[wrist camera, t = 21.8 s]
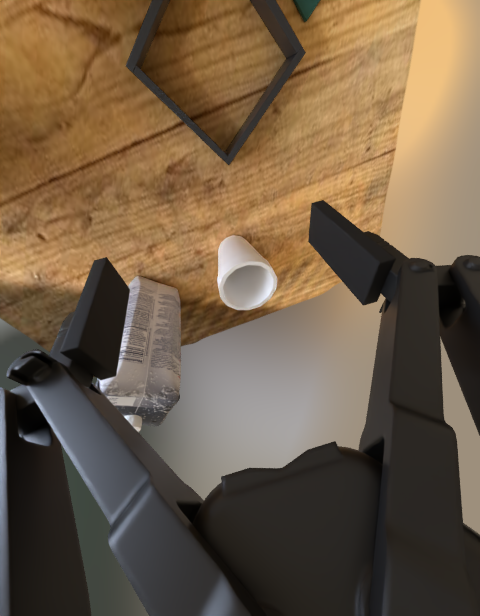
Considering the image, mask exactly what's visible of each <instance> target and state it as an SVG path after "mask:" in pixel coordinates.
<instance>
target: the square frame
mask: <svg viewBox="0 0 480 616" xmlns="http://www.w3.org/2000/svg"><path fill="white" fill-rule="evenodd" d="M169 1H170V0H152V1H151V4H150V6H149V9H148V11H147V14H146V16H145V19H144V21H143V24H142V26H141V29H140V31H139V34H138V36H137V39H136V41H135V44H134V46H133V49H132V51H131V54H130V56H129V59H128V61H127V64H126V67H127V68H128V69H129V70H130V71H131V72H132V73H133V74H134V75H135V76H137V77H138V78H139V79H140V80H141V81H142V82H143V83H144V84H145V85H146V86H147V87H148V88H149V89H150V90H151V91H152V92H153V93H154V94H155V95H156V96H157V97H158V98H159V99H160V100H161V101H162V102H164V103H165V104H166V105H167V106H168V107H169V108H170V109H171V110H172V111H173V112H174V113H175V114H176V115H177V116H178V117H179V118H180V119H181V120H182V121H183V122H184V123H185V124H186V125H187V126H188V127H189V128H191V129H192V130H193V131H194V132H195V133H196V134H197V135H198V136H199V137H200V138H201V139H202V140H203V141H204V142H205V143H206V144H207V145H208V146H209V147H210V148H211V149H212V150H213V151H214V152H215V153H216V154H217V155H219V156H220V157H221V158H222V159H223V160H224V161H225V162H226V163H227V164H228V165H229V164H230V163H231V162H232V160H233V159H234V157H235V156H236V154H237V153H238V151H239V150H240V148H241V147H242V145H243V144H244V142H245V141H246V140H247V138H248V137H249V135H250V134H251V132H252V131H253V129H254V128H255V126H256V125H257V123H258V122H259V120H260V119H261V118H262V116H263V115H264V113H265V112H266V110H267V109H268V107H269V106H270V104H271V103H272V101H273V100H274V98H275V97H276V96H277V94H278V93H279V91H280V90H281V88H282V87H283V85H284V84H285V82H286V81H287V79H288V78H289V76H290V75H291V74H292V72H293V71H294V69H295V68H296V66H297V65H298V63H299V62H300V60H301V59H302V57H303V56H304V54H305V51H304V49H303V47H302V46H301V44H300V42H299V40H298V38H297V37H296V35H295V33H294V31H293V30H292V28H291V26H290V25H289V23H288V21H287V19H286V18H285V16H284V14H283V12H282V11H281V9H280V7H279V5H278V4H277V2H276V0H250V1H251V3H252V5H253V6H254V8H255V9H256V11H257V13H258V14H259V16H260V17H261V19H262V20H263V22H264V24H265V25H266V27H267V28H268V30H269V32H270V33H271V35H272V36H273V38H274V40H275V41H276V43H277V44H278V46H279V48H280V49H281V51H282V52H283V54H284V55H285V57H286V60H285V62H284V63H283V65H282V66H281V68H280V69H279V71H278V72H277V74H276V75H275V77H274V78H273V80H272V81H271V83H270V84H269V86H268V87H267V89H266V90H265V92H264V94H263V95H262V97H261V98H260V100H259V101H258V103H257V104H256V106H255V107H254V109H253V110H252V112H251V113H250V115H249V116H248V118H247V119H246V121H245V122H244V124H243V125H242V127H241V129H240V130H239V132H238V133H237V135H236V136H235V138H234V139H233V141H232V142H231V144H230V145H229V147H228V148H227V150H226V151H225V153H224V152H223V151H222V150H221V149H220V148H219V147H218V146H217V145H216V144H215V143H214V142H213V141H212V140H211V139H210V138H209V137H208V136H207V135H206V134H205V133H204V132H203V131H202V130H201V129H200V128H199V127H198V126H197V125H196V124H195V123H194V122H193V121H192V120H191V119H190V118H189V117H188V116H187V115H186V114H185V113H184V112H183V111H182V110H181V109H180V108H179V107H178V106H177V105H176V104H175V103H174V102H173V101H172V100H171V99H170V98H169V97H168V96H167V95H166V94H165V93H164V92H163V91H162V90H161V89H160V88H159V87H158V86H157V85H156V84H155V83H154V82H153V81H152V80H151V79H150V78H149V77H148V76H147V75H146V74H145V73H144V72H143V71H142V70H141V67H142V65H143V62H144V60H145V58H146V55H147V53H148V51H149V48H150V46H151V43H152V41H153V39H154V36H155V34H156V32H157V29H158V27H159V25H160V22H161V20H162V18H163V15H164V13H165V11H166V8H167V6H168V4H169Z"/></svg>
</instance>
